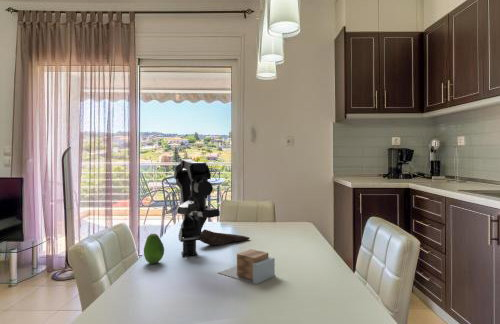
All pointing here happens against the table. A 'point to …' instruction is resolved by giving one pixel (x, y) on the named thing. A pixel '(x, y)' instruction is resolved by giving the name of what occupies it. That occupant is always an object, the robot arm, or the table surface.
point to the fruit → (153, 249)
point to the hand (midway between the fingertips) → (198, 232)
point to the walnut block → (248, 262)
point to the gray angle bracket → (255, 271)
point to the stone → (220, 238)
